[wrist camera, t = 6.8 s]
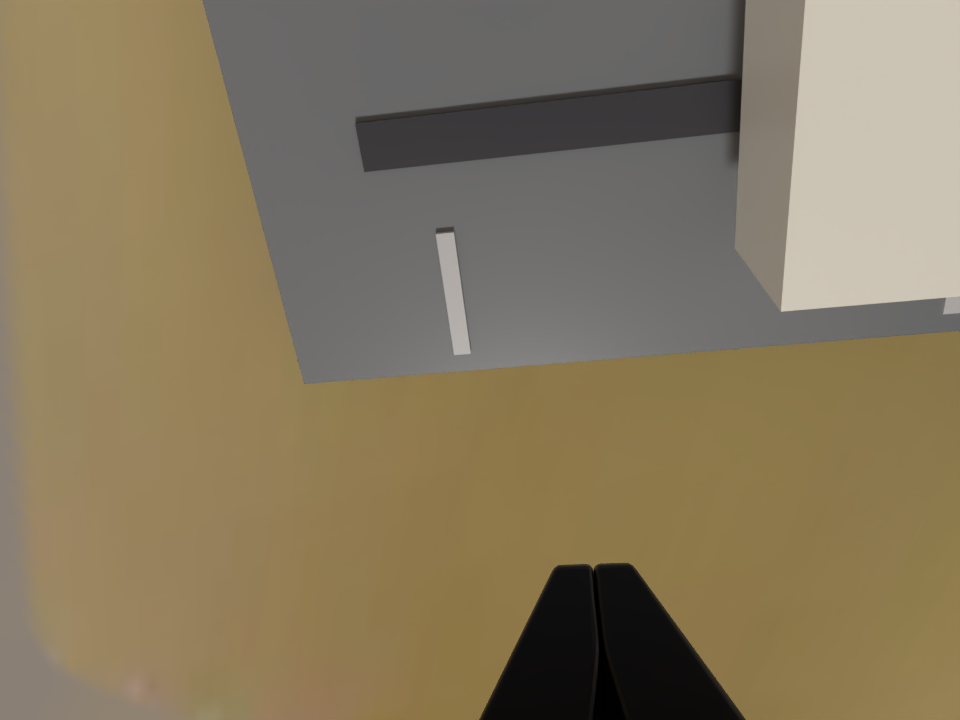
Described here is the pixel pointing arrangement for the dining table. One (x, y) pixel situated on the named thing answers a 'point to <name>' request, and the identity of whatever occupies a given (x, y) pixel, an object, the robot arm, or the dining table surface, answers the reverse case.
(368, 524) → the dining table surface
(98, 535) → the dining table surface
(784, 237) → the fader knob
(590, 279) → the mixer panel
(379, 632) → the dining table surface
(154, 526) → the dining table surface
